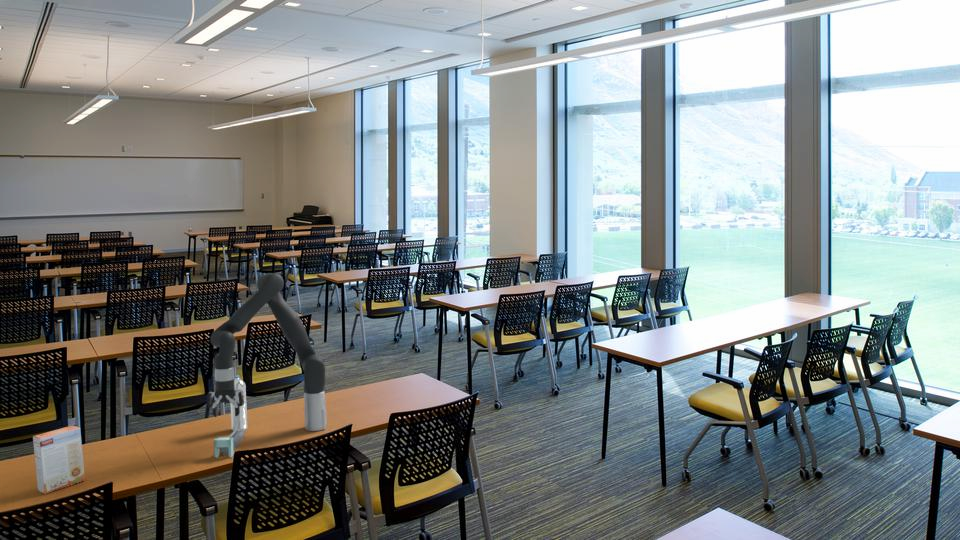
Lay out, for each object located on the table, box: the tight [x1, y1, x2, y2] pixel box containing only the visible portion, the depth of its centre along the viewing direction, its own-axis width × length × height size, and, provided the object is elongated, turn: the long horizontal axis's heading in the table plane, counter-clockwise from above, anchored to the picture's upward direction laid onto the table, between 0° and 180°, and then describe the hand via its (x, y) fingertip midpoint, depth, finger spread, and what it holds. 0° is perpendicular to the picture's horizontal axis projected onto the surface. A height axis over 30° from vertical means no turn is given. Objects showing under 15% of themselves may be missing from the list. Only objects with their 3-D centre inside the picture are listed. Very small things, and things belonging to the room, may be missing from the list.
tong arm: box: [228, 429, 239, 437], centre depth 293 cm, size 16×2×4 cm, turn 3°
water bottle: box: [229, 374, 248, 432], centre depth 310 cm, size 7×7×25 cm
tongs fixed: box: [220, 429, 245, 456], centre depth 291 cm, size 20×4×4 cm, turn 3°
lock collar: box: [213, 436, 234, 459], centre depth 279 cm, size 3×7×7 cm, turn 93°
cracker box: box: [32, 425, 86, 494], centre depth 251 cm, size 14×6×21 cm, turn 145°
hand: (226, 416), depth 286 cm, fingers open, 8 cm apart
